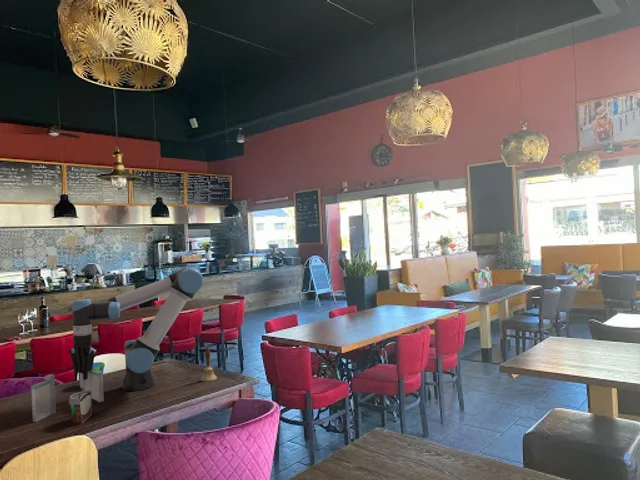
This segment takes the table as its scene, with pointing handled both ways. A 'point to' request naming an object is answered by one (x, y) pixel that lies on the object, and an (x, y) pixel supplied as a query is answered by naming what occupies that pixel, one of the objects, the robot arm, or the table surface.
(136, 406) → the table surface
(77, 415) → the food container
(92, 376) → the gate
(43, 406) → the fence
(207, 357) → the hand bell
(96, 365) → the snack cup
